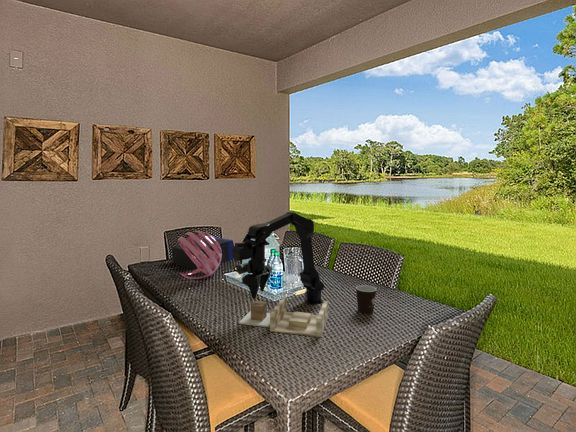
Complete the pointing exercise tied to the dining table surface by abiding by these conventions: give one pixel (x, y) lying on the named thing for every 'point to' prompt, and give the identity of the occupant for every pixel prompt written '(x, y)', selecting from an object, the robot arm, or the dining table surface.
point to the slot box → (298, 320)
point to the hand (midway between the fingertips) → (258, 294)
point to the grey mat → (255, 321)
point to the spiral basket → (201, 253)
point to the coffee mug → (365, 298)
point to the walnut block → (258, 310)
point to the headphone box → (184, 259)
